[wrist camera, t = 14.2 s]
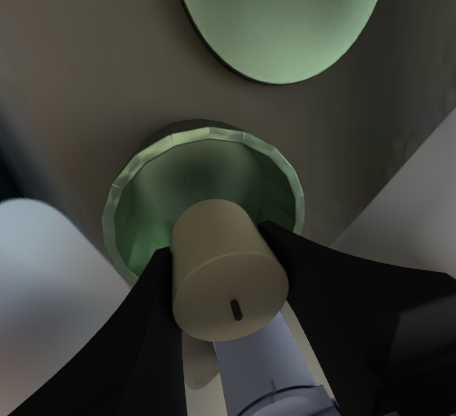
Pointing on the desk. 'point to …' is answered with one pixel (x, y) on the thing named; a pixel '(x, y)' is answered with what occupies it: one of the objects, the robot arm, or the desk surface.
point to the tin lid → (279, 34)
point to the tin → (194, 188)
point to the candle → (223, 273)
